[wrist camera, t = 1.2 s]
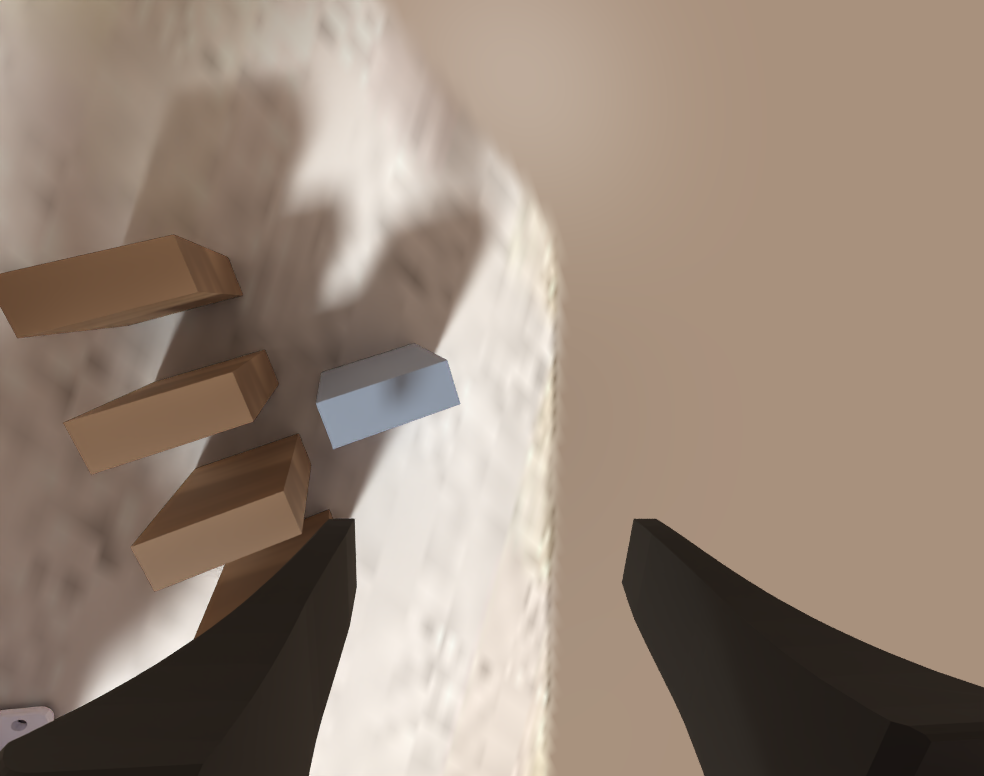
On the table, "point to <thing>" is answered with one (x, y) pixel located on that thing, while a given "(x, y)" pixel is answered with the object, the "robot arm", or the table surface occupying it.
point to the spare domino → (383, 393)
